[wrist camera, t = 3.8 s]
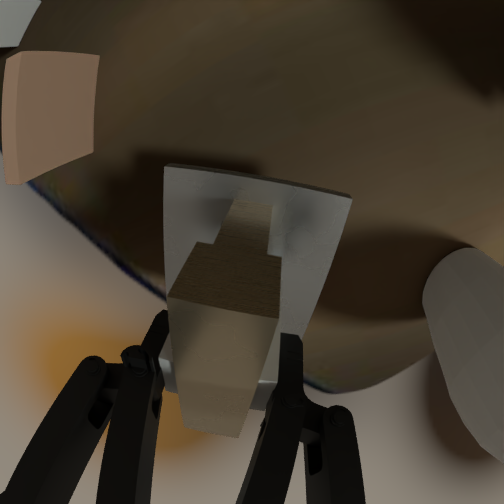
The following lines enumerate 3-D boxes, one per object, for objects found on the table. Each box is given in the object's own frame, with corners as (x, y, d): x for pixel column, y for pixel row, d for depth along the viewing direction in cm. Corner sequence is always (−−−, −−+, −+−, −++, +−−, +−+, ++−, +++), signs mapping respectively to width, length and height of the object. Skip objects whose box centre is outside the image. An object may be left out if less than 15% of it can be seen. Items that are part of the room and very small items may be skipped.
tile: (80, 59, 15) (4, 60, 7) (99, 55, 15) (21, 51, 7) (75, 151, 20) (4, 183, 12) (93, 152, 20) (20, 185, 12)
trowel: (169, 163, 14) (60, 242, 6) (349, 194, 14) (411, 308, 6) (172, 316, 20) (130, 415, 13) (297, 340, 20) (295, 449, 13)
